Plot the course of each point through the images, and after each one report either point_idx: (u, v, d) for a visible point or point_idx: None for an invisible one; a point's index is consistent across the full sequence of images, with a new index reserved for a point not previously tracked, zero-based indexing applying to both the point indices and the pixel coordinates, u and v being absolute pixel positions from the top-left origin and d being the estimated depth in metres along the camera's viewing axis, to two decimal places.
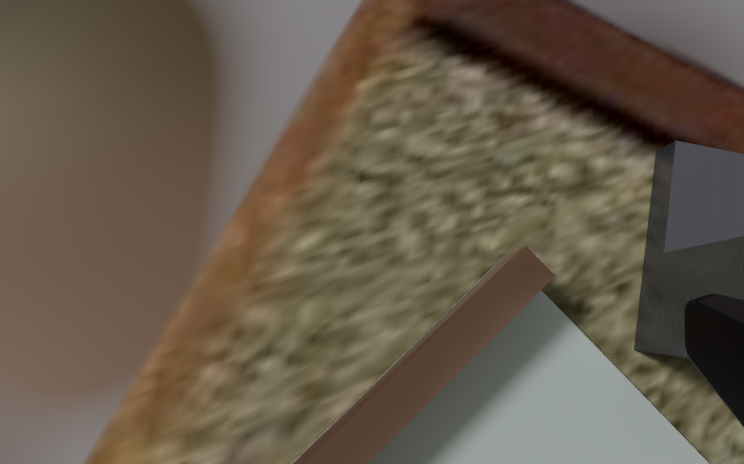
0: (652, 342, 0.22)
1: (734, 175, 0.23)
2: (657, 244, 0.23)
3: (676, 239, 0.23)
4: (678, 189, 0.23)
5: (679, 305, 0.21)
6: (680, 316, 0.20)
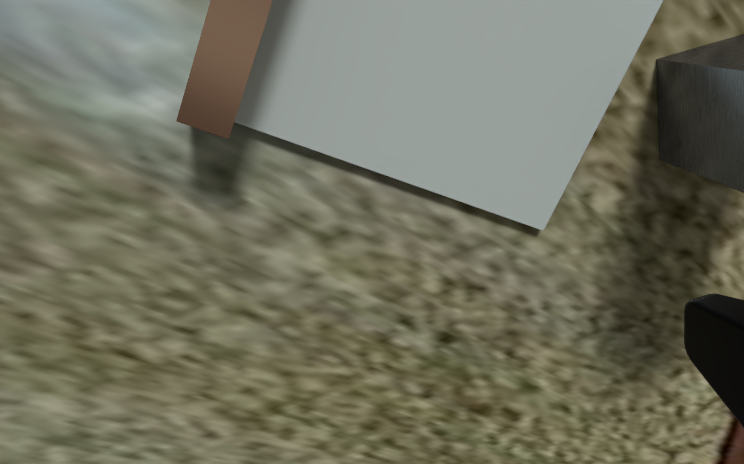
0: (690, 59, 0.19)
1: None
2: None
3: None
4: None
5: None
6: None
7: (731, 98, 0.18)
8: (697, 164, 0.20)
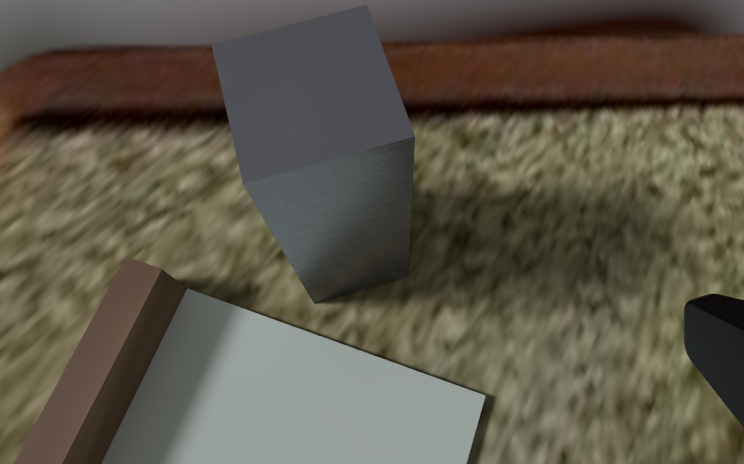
0: None
1: None
2: None
3: None
4: None
5: None
6: None
7: (324, 270, 0.19)
8: (398, 262, 0.21)
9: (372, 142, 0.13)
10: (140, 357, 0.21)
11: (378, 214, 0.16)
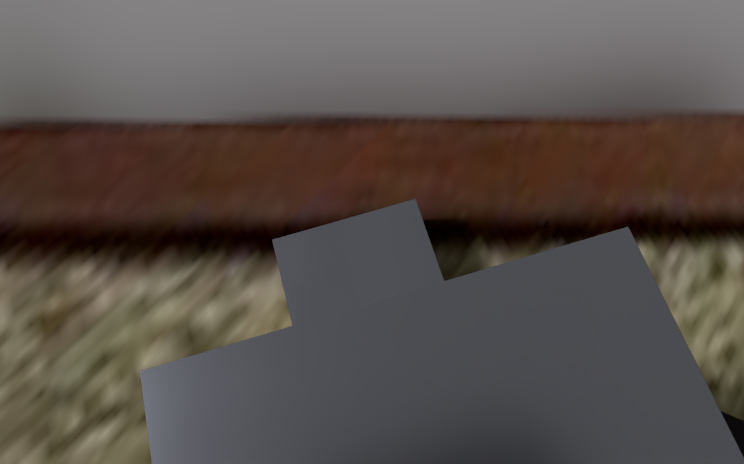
0: None
1: (376, 246, 0.15)
2: None
3: None
4: (302, 309, 0.14)
5: None
6: None
7: None
8: None
9: None
10: None
11: None
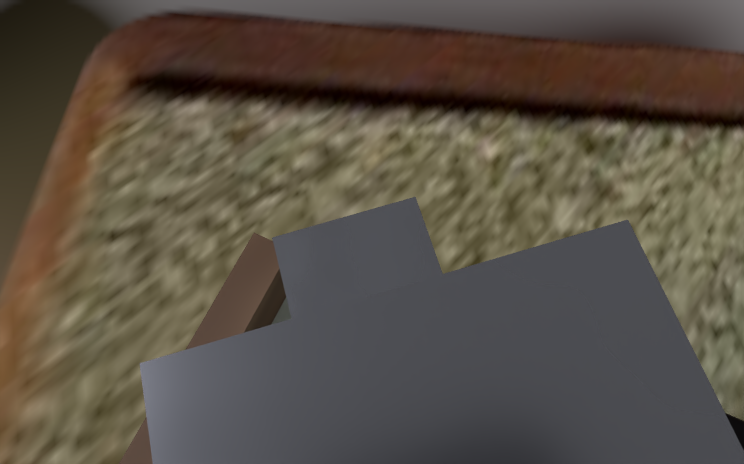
0: None
1: (376, 244, 0.15)
2: None
3: None
4: (302, 307, 0.14)
5: None
6: None
7: None
8: None
9: None
10: None
11: None
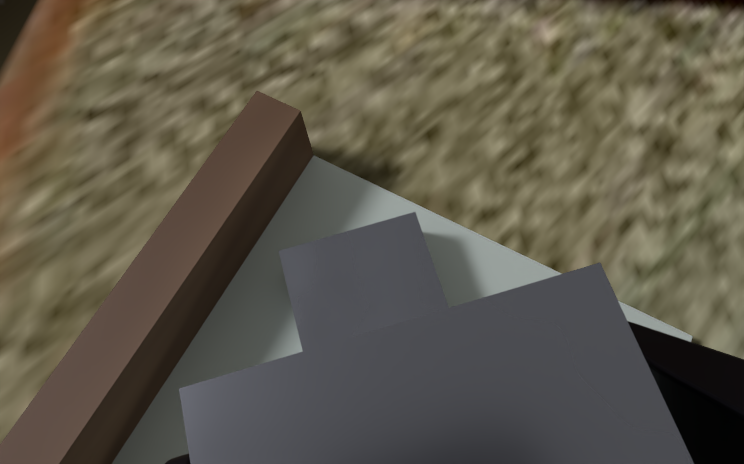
0: None
1: (377, 257, 0.15)
2: None
3: None
4: (307, 317, 0.15)
5: None
6: None
7: None
8: None
9: None
10: (254, 221, 0.16)
11: None
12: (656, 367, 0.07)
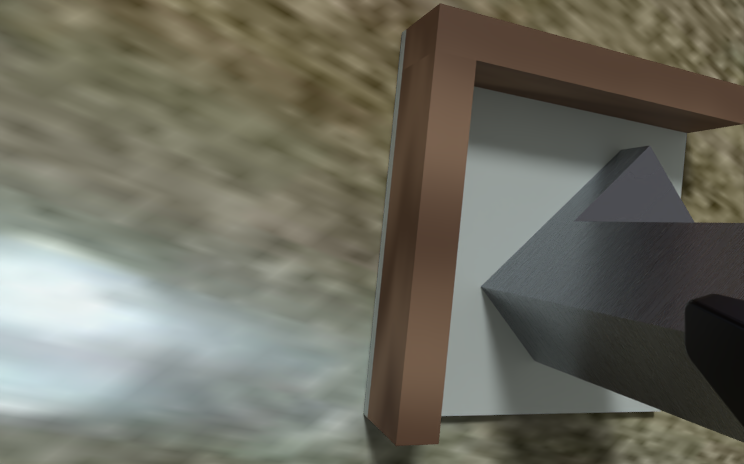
0: (506, 284, 0.20)
1: (665, 211, 0.23)
2: (570, 214, 0.22)
3: (589, 219, 0.21)
4: (622, 183, 0.22)
5: (562, 262, 0.19)
6: (556, 270, 0.19)
7: (556, 320, 0.18)
8: (565, 367, 0.20)
9: None
10: (652, 117, 0.23)
11: (678, 398, 0.15)
12: None
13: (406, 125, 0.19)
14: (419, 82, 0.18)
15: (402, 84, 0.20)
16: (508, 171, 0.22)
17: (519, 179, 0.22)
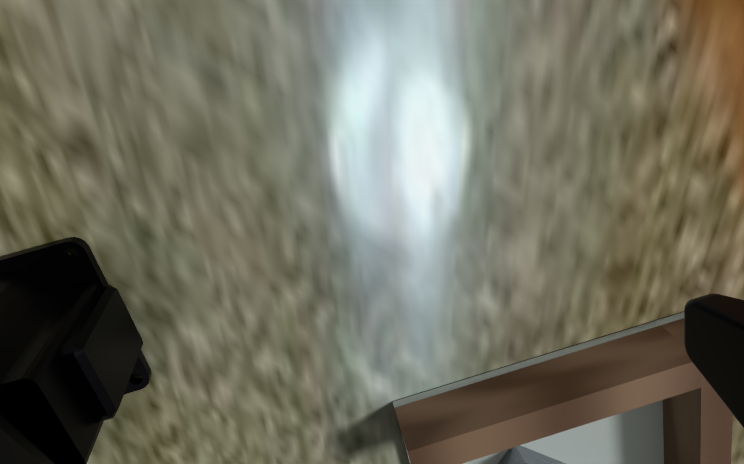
0: None
1: None
2: None
3: None
4: None
5: None
6: None
7: None
8: None
9: None
10: None
11: None
12: None
13: (627, 349, 0.24)
14: (666, 350, 0.23)
15: (651, 330, 0.25)
16: (605, 426, 0.27)
17: (601, 435, 0.27)
